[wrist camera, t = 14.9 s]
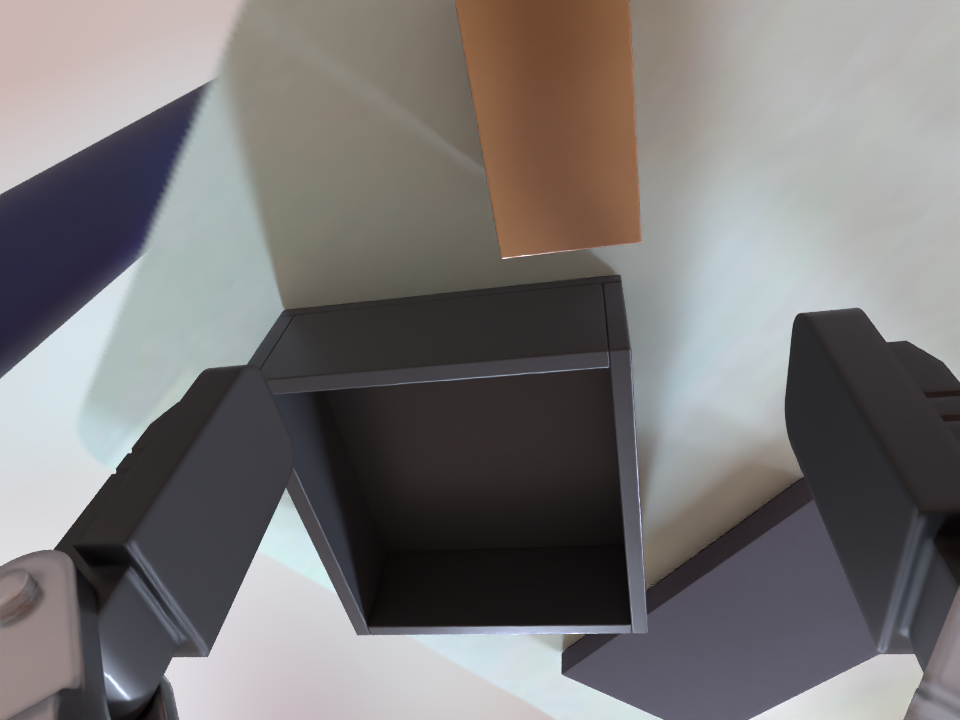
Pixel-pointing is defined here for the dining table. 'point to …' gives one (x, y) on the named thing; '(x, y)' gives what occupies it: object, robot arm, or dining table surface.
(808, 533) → the notebook
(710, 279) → the dining table surface
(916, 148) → the dining table surface
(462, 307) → the bin
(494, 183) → the package
